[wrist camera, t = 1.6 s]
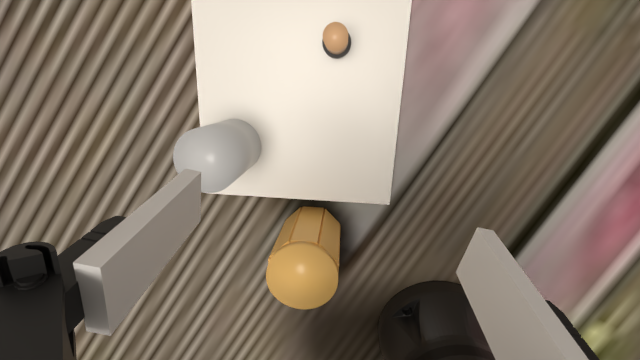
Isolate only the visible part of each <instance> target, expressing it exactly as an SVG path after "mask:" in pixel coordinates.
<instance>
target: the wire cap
mask: <svg viewBox="0 0 640 360" xmlns="http://www.w3.org/2000/svg"><path fill="white" fill-rule="evenodd" d="M339 250H340V223H339V222H338V221H337V220H336V219H335V218H334V217H333V216H332V215H331V214H330V213H329V212H328V211H327V210H326V209H325V210H324V208H320V207H305V206H303V207H302V208H301V207H300V208H299V209H298V210H297V211H295V212H294V213H293V214H292V215H291V216H290V217H288V218H287V219H286V221H285V223H284V225H283V227H282V229H281V232H280V234H279V236H278V238H277V240H276V243H275V245H274V247H273V249H272V252H271V254H270V256H269V258H268V267H267V271H266V281H267V285H268V287H269V289H270V291H271V293H272V294H273V295H274V296H275V297H276V298H277V299H278V300H279V301H280V302H282V303H283V304H285V305H287V306H290V307H292V308H296V309H312V308H316V307H319V306H321V305H323V304H325V303H326V302H327V301H329V300H330V299H331V298H332V296H333V295H334V293H335V291H336V289H337V287H338V272H339Z"/></svg>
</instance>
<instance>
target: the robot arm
mask: <svg viewBox="0 0 640 360" xmlns="http://www.w3.org/2000/svg"><path fill="white" fill-rule="evenodd" d="M200 211H201V172H200V171H195V170H190V169H184V170H183V171H182V172H181V173H179V174H178V175H177V176H176V177H175V178H173V179H172V180H171V181H170V182H169V183H167V184H166V185H165V186H164V187H163V188H161V189H160V190H159V191H158V192H157V193H155V194H154V195H153V196H152V197H151V198H149V199H148V200H147V201H146V202H145V203H143V204H142V205H141V206H140V207H139V208H137V209H136V210H135V211H134V212H133V213H131V214H130V215H129V216H128V217H122V216H115V217H112V218H110V219H108V220H105V221H103V222H101V223H100V224H99V225H97V226H96V227H95V228H93V229H92V230H91V232H88V233H87V234H85V235H84V236H83V237H82V238H81V239H79V240H78V241H76V242H75V243H74V244H72V245H71V246H70V247H69V248H67V249H66V250H65V251H63V252H62V253H61V254H59V255H58V256H57V252H56V249H55V247H54V246H53V245H51V244H49V243H45V242H28V243H23V244H19V245H15V246H12V247H10V248H8V249H5V250H3V251H1V252H0V360H76V342H75V332H74V328H75V327H76V326H77V325H78V324H79V323H80V322H81V320H82V319H83V318H84V321H85V326H86V331H89V332H94V333H100V334H105V335H110V336H111V335H112V333H113V332H114V331H115V329H116V328H117V327H118V326H119V324H120V323H121V322H122V320H123V319H124V318H125V317H126V315H127V314H128V313H129V312H130V310H131V309H132V308H133V306H134V305H135V304H136V303H137V301H138V300H139V299H140V297H141V296H142V295H143V294H144V292H145V291H146V290H147V289H148V287H149V286H150V285H151V283H152V282H153V281H154V280H155V278H156V277H157V276H158V274H159V273H160V272H161V271H162V269H163V268H164V267H165V266H166V264H167V263H168V262H169V260H170V259H171V258H172V257H173V255H174V254H175V253H176V251H177V250H178V249H179V248H180V246H181V245H182V244H183V243H184V241H185V240H186V239H187V237H188V236H189V235H190V234H191V232H192V231H193V230H194V228H195V227H196V226H197V225H198V223H199V222H200ZM456 274H457V276H458V278H459V280H460V283H461V285H462V286H461V285H458V284H455V283H450V282H441V281H433V282H425V283H420V284H417V285H414V286H411V287H409V288H407V289H405V290H403V291H401V292H400V293H398V294H397V295H396V296H394V297H393V298H392V299H391V300H390V301H389V302H388V303H387V305H386V306H385V308H384V309H383V311H382V313H381V316H380V318H379V323H378V336H379V343H380V349H381V352H382V355H383V357H384V359H385V360H599V359H598V357H597V356H596V355H595V353H594V352H593V351H592V350H591V348H590V347H589V346H588V344H587V343H586V342H585V340H584V339H583V338H581V335H580V334H579V333H578V331H577V330H576V329H575V328H573V325H572V324H571V322H570V321H569V320H568V318H567V317H566V316H565V315H564V313H563V312H562V311H560V310H559V309H558V308H557V307H556V306H555V305H554V304H552V303H551V302H550V301H547V300H544V298H543V297H542V296H541V294H540V293H539V292H538V290H537V289H536V288H535V286H534V285H533V283H532V282H531V281H530V279H529V278H528V277H527V275H526V274H525V273H524V271H523V270H522V269H521V267H520V266H519V265H518V263H517V262H516V260H515V259H514V258H513V256H512V255H511V254H510V252H509V251H508V250H507V248H506V247H505V246H504V244H503V243H502V242H501V240H500V239H499V238H498V236H497V235H496V233H495V232H494V231H493V230H488V229H483V228H478V227H477V229H476V231H475V233H474V235H473V237H472V239H471V241H470V244H469V246H468V248H467V250H466V252H465V254H464V256H463V258H462V260H461V262H460V264H459V266H458V269H457V271H456Z"/></svg>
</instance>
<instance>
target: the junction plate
mask: <svg viewBox="0 0 640 360" xmlns="http://www.w3.org/2000/svg"><path fill="white" fill-rule="evenodd" d="M191 3H192V17H193V31H194V45H195V60H196V74H197V88H198V102H199V117H200V127H199V128H195V129H192V130H189V131H187V132H186V133H184V134H183V135H182V136H181V137H180V138H179V139H178V141H177V143H176V145H175V148H174V153H173V160H174V165H175V168H176V171H177V173H178V174H179V173H181V172H182V171H183V170H184V169H190V170H195V171H200V172H201V192H204V193H213V194H229V195H244V196H260V197H276V198H291V199H307V200H323V201H339V202H354V203H370V204H386V205H390V196H391V187H392V178H393V168H394V159H395V150H396V141H397V132H398V123H399V113H400V104H401V95H402V86H403V77H404V68H405V58H406V49H407V40H408V31H409V22H410V13H411V3H412V0H191Z"/></svg>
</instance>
